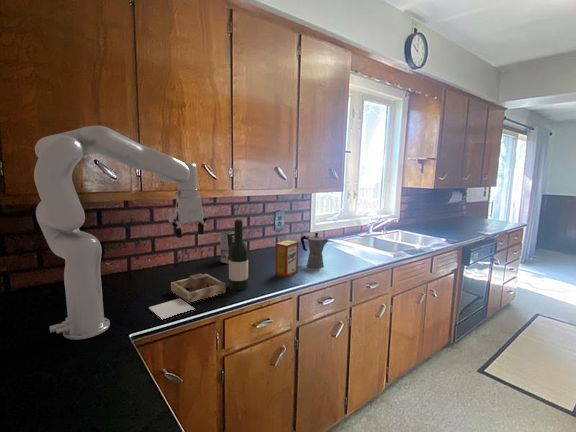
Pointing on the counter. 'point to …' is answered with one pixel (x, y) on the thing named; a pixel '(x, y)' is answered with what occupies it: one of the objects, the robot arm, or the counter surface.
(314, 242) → the coffeepot
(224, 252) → the coffee box
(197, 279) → the walnut block
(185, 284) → the oak frame
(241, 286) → the wine bottle
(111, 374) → the counter surface
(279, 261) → the baking soda box
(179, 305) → the stone pad
